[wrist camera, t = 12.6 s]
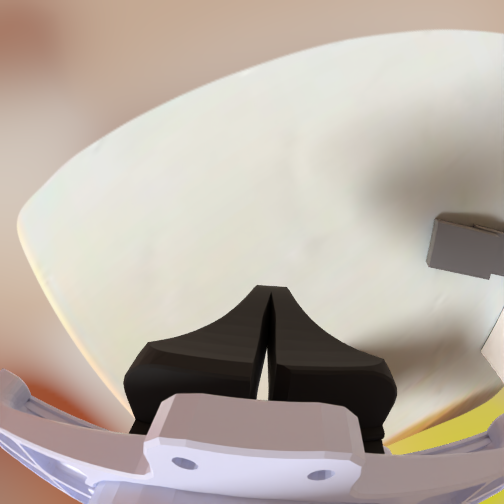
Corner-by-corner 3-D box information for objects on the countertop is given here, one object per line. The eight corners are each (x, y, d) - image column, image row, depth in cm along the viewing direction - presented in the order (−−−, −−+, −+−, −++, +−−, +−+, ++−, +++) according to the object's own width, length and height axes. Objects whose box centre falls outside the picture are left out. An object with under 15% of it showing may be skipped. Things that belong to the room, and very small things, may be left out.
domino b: (464, 263, 20) (511, 273, 18) (469, 268, 19) (517, 279, 17) (473, 224, 19) (521, 237, 17) (479, 227, 18) (528, 241, 15)
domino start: (425, 260, 20) (483, 273, 18) (428, 267, 19) (488, 279, 17) (434, 218, 19) (493, 233, 17) (438, 222, 18) (500, 237, 16)
